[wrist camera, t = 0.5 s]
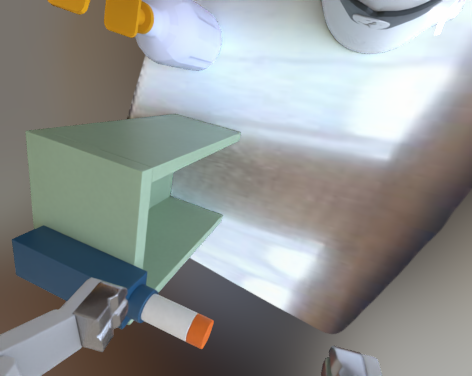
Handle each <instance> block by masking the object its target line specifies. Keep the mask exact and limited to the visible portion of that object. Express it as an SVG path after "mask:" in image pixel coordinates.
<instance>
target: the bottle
mask: <svg viewBox="0 0 472 376" xmlns="http://www.w3.org/2000/svg"><path fill="white" fill-rule="evenodd" d="M12 245H13V252H14V260H15V268H16V275H17V276H19V277H21V278H23V279H25V280H27V281H29V282H31V283H33V284H35V285H37V286H39V287H41V288H43V289H45V290H47V291H49V292H51V293H53V294H54V295H56V296H58V297H60V298H62V299H64V300H66V301H68V300H69V298H70V297H71V296H72V295H73V294H74V293H75V292H76V291H77V290H78V289H79V288H80V287H81V286H82V285H83V284H84V283H85V282H86V280H88V279H90V278H91V277H92V278H95V279H99V280H102V281H105V282H109V283H112V284H115V285H119V286H122V287H125V288H127V292H128V294H127V296H126V297H125V298H126V299H127V300H128V305H129V306H128V311H127V314H126V316H125V319H124V320H123V322H122V323H121V325H120V326H118V328H121V329H123V328H124V327H125V325H126V324H127V323H128V322H129V321H130V320H131V319H133V320H135V321H137V322H139V323H142V322H144V321H145V322H147V323H149V324H152V325H153V326H155V327H157V328H159V329H161V330H163V331H166V332H168V333H170V334H172V335H174V336H176V337H178V338H180V339H182V340H184V341H186V342H188V343H190V344H192V345H194V346H196V347H198V348H200V349H202V348H203V347H204V345H205V343H206V342H207V339H208V337H209V335H210V332H211V329H212V326H213V320H211V319H209V318H207V317H205V316H203V315H201V314H198V313H196V312H194V311H192V310H190V309H188V308H186V307H184V306H181V305H179V304H177V303H175V302H173V301H171V300H168V299H166V298H164V297H162V296H160V295H158V291H157V290H155V289H153V288H151V287H149V286H147V285H146V281H147V271H145V270H143V269H141V268H139V267H136V266H134V265H132V264H130V263H127V262H125V261H123V260H121V259H118V258H116V257H114V256H112V255H109V254H107V253H105V252H103V251H100V250H98V249H96V248H94V247H91V246H89V245H87V244H85V243H82V242H80V241H78V240H76V239H73V238H71V237H69V236H67V235H64V234H62V233H60V232H58V231H55V230H53V229H51V228H49V227H46V226H44V225H43V226H41V227H38V228H36V229H34V230H32V231H29V232H28V233H25V234H23V235H21V236H18V237H16V238H14V239H12Z"/></svg>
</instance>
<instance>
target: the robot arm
mask: <svg viewBox="0 0 472 376" xmlns="http://www.w3.org/2000/svg"><path fill="white" fill-rule="evenodd" d="M321 1H322V5H323V12H324V17H325V21H326V24H327V26H328V28H329V30H330V32H331V34H332V35H333V36H334V38H335V39H336V40H337V41H338V42H339V43H341V44H342V45H343V46H345V47H346V48H348V49H350V50H353V51H356V52H360V53H367V54H374V53H382V52H386V51H390V50H393V49H395V48H398V47H400V46H402V45H404V44H406V43H407V42H409V41H410V40H412V39H413V38H415V37H416V36H417V35H419V34H420V33H421V32H423V31H424V30H426V29H428V28H429V27H432V26H436V25H438V26H437V29H436V31H435V34H434V35H438V34H440V32H441V29H442V27H443V24H444V23H445V22H447V21H449V20H451V19H453V18H455V17H456V16H457V15H458V14H459V13H460V12H461V10H462V8H463V6H464V3H465V0H321ZM127 294H128V292H127V288H125V287H122V286H119V285H115V284H112V283H109V282H105V281H102V280H99V279H95V278H92V277H91V278H90V279H88V280H86V282H85V283H84V284H83V285H82V286H81V287H80V288H79V289H78V290H77V291H76V292H75V293H74V294H73V295H72V296H71V297H70V298H69V300H68V301H67V302H66V303H65V304H64V305H63V306H62V307H61V308H60V309H59V310H56V309H55V310H52V311H50V312H48V313H46V314H44V315H42V316H39V317H37V318H35V319H33V320H31V321H29V322H27V323H25V324H22V325H20V326H18V327H16V328H13V329H12V330H9V331H7V332H5V333H3V334H1V335H0V376H41V375H43V374H44V373H46V372H47V371H48V370H50V369H51V368H53V367H54V366H56V365H57V364H59V363H60V362H62V361H63V360H65V359H66V358H67V357H69V356H70V355H72V354H73V353H75V352H76V351H78V350H79V349H81V348H82V346H83V347H86V348H90V349H94V350H97V351H101V352H103V351H104V349H105V347H106V346H107V345H108V343H109V342H110V340H111V338H112V337H113V329H115V328H116V327H118V326H120V325H121V323H122V322H123V320H124V319H125V316H126V314H127V311H128V306H129V305H128V300H127V299H126V298H125V297H126V296H127ZM321 376H382V373H381V369H380V365H379V362H378V360H377V358H375V357H372V356H368V355H365V354H361V353H359V352H355V351H352V350H348V349H344V348H340V347H336V346H332V347H331V348H330V350H329V357H327V358H325V361H324V363H323V366H322V372H321Z"/></svg>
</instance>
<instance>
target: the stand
mask: <svg viewBox="0 0 472 376" xmlns="http://www.w3.org/2000/svg"><path fill="white" fill-rule="evenodd" d="M240 135H241V132H237V131H234V130H230V129H227V128H223V127H220V126H216V125H213V124H209V123H206V122H202V121H199V120H195V119H192V118H188V117H185V116H181V115H178V114H170V115H161V116H153V117H144V118H135V119H126V120H119V121H118V120H117V121H108V122H100V123H91V124H82V125H73V126H64V127H56V128H47V129H38V130H29V131H26V143H27V153H28V166H29V176H30V188H31V199H32V212H33V222H34V229H36V228H38V227H41V226H43V225H44V226H46V227H49V228H51V229H53V230H55V231H58V232H60V233H62V234H64V235H67V236H69V237H71V238H73V239H76V240H78V241H80V242H82V243H85V244H87V245H89V246H91V247H94V248H96V249H98V250H100V251H103V252H105V253H107V254H109V255H112V256H114V257H116V258H118V259H121V260H123V261H125V262H127V263H130V264H132V265H134V266H136V267H139V268H141V269H143V270H145V271H147V281H146V285H147V286H149V287H151V288H153V289H155V290H157V291H158V292H159V291H160V290H161V289H162V288H163V287H164V286H165V285H166V283H167V282H168V281H169V280H170V279H171V278H172V277H173V276H174V274H175V273H176V272H177V271H178V270H179V269H180V268H181V266H182V265H183V264H184V263H185V262H186V261H187V260H188V259H189V257H190V256H191V255H192V254H193V253H194V252H195V251H196V250H197V248H198V247H199V246H200V245H201V244H202V243H203V242H204V241H205V239H206V238H207V237H208V236H209V235H210V234H211V233H212V232H213V230H214V229H215V228H216V227H217V226H218V225H219V224H220V223H221V221H222V216H223V215H221V214H218V213H215V212H212V211H210V210H207V209H204V208H201V207H199V206H196V205H193V204H190V203H188V202H185V201H182V200H179V199H177V198H174V197H171V196H170V194H171V187H172V179H173V172H175V171H177V170H179V169H181V168H183V167H185V166H187V165H190V164H192V163H194V162H196V161H198V160H200V159H202V158H204V157H206V156H208V155H210V154H213V153H215V152H217V151H219V150H221V149H223V148H225V147H227V146H229V145H231V144H233V143H236V142H238V141H239V140H240ZM133 321H134V320H133V319H131V320H130V321H129V322H128V323H127V324H128V325H130V324H131V323H132V322H133Z"/></svg>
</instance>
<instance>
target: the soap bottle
mask: <svg viewBox="0 0 472 376" xmlns="http://www.w3.org/2000/svg"><path fill="white" fill-rule="evenodd" d="M48 1H49V3H51V4H52V5H53V6H56V7H59V8H62V9H64V10H67V11H70V12H73V13H77V14H79V15H80V14H84V13H85V12H86V11H87V9H88V6H89V2H90V0H48ZM104 24H105V27H106V28H107V29H108V30H110V31H113V32H116V33H119V34H122V35H124V36H127V37H130V38H133V37H135V38H136V41H137V43H138V46H139V47H140V48H141V50H142V51H143V52H144V53H145V55H146V56H147V57H148V58H149V59H151V60H153V61H154V62H156V63H158V64H162V65H167V66H173V67H178V68H183V69H189V70H196V71H199V70H202V69H206V68H207V67H209V66H210V65H211V64H213V63H214V61H215V60H216V58H217V56H218V55H219V52H220V49H221V45H222V35H221V29H220V26H219V24H218V21H217V20H216V19H215V17H214V16H213V15H212V14H211V13H210V12H209V11H207V10H206V9H204V8H203V7H201V6H200V5H199V4H197V3H196V2H194V1H193V0H106V6H105V17H104Z"/></svg>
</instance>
